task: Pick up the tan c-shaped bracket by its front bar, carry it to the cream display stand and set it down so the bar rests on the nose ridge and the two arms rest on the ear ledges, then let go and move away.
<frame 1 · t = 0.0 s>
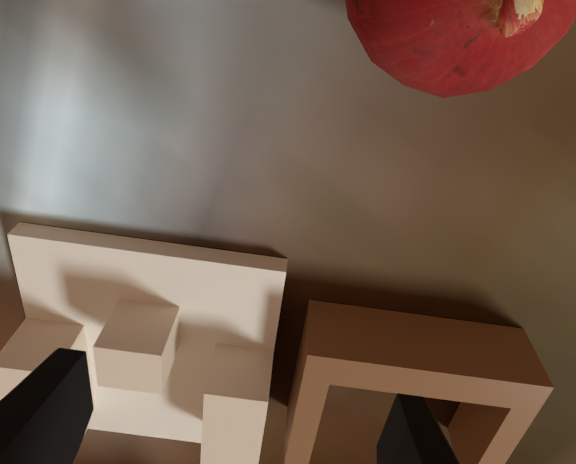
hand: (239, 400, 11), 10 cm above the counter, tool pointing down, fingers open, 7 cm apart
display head: (156, 307, 23), on the counter
tan c-shaped bracket: (412, 326, 23), on the counter
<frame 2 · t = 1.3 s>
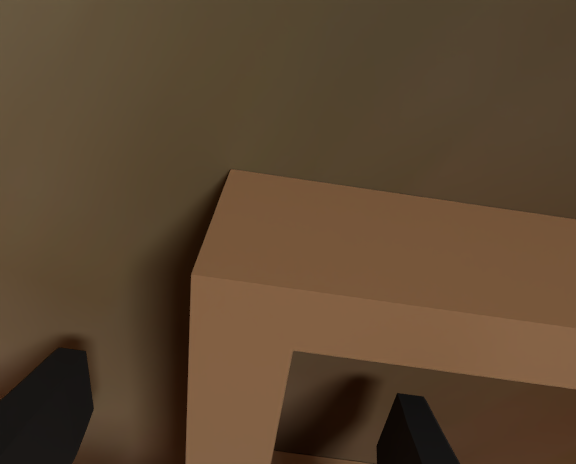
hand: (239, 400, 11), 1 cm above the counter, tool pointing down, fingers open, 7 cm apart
tan c-shaped bracket: (247, 354, 12), on the counter
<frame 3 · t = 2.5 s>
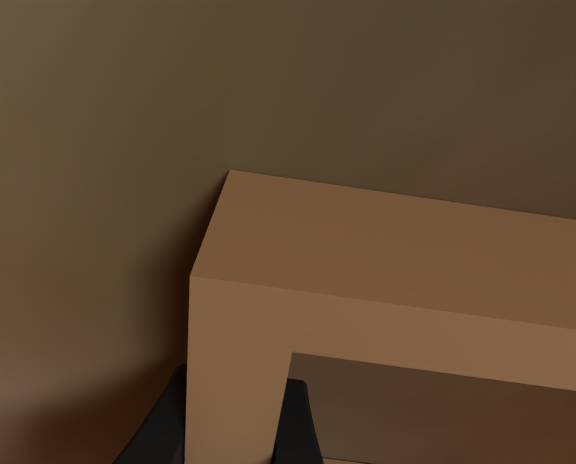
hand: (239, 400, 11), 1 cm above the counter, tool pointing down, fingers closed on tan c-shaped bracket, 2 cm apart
tan c-shaped bracket: (246, 355, 12), on the counter, touching gripper
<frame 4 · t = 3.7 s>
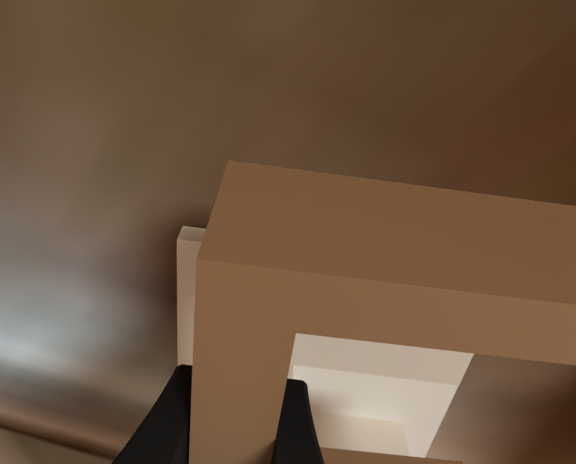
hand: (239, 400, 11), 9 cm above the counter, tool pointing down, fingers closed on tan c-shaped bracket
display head: (266, 343, 22), on the counter
tan c-shaped bracket: (245, 345, 12), point 7 cm above the counter, touching gripper
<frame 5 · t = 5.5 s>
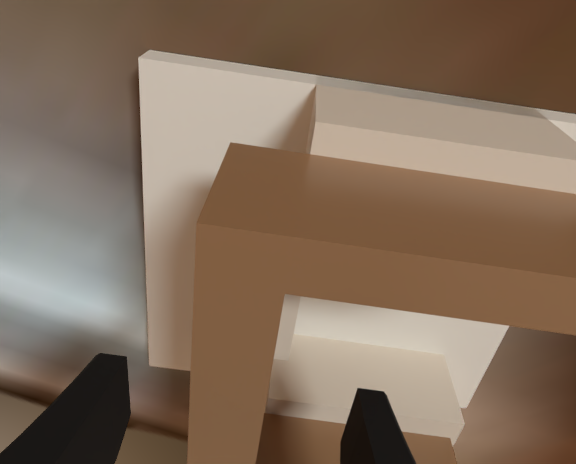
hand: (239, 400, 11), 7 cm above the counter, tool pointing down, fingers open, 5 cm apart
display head: (266, 243, 17), on the counter
tan c-shaped bracket: (245, 318, 13), point 4 cm above the counter, touching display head
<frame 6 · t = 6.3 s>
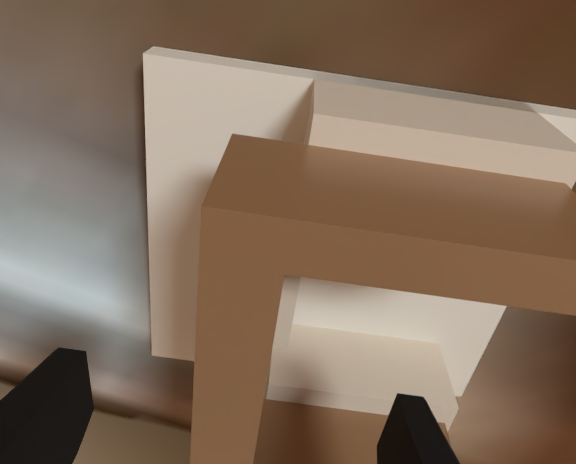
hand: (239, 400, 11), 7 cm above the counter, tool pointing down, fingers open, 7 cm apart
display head: (266, 234, 17), on the counter
tan c-shaped bracket: (246, 305, 14), point 4 cm above the counter, touching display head
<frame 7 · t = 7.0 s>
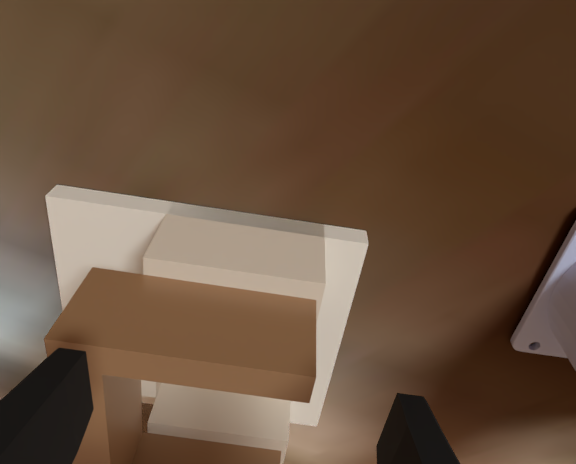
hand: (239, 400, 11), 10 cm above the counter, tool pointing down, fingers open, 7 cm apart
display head: (154, 307, 23), on the counter
tan c-shaped bracket: (121, 370, 19), point 4 cm above the counter, touching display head
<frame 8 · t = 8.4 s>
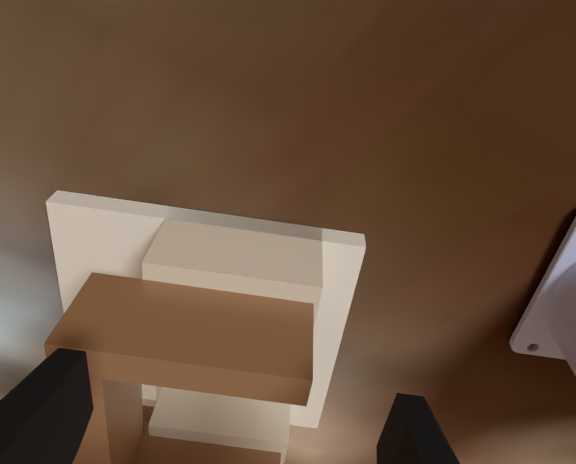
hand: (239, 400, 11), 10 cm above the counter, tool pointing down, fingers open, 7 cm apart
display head: (155, 310, 23), on the counter
tan c-shaped bracket: (121, 373, 20), point 4 cm above the counter, touching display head
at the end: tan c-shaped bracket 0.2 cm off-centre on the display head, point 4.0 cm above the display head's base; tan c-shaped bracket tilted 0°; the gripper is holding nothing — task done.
